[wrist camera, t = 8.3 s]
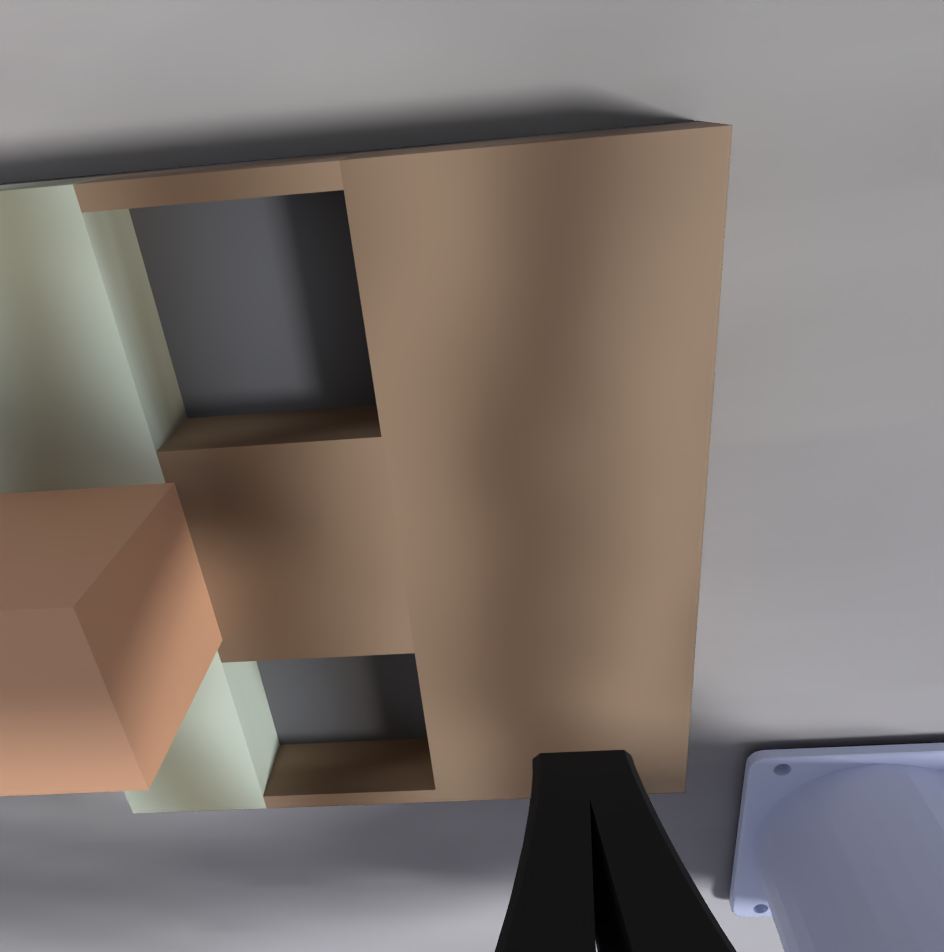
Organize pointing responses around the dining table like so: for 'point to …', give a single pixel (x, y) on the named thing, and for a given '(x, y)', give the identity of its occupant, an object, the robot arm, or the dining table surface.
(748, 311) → the dining table surface
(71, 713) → the terracotta cube
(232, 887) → the dining table surface
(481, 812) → the dining table surface
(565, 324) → the board
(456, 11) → the dining table surface
